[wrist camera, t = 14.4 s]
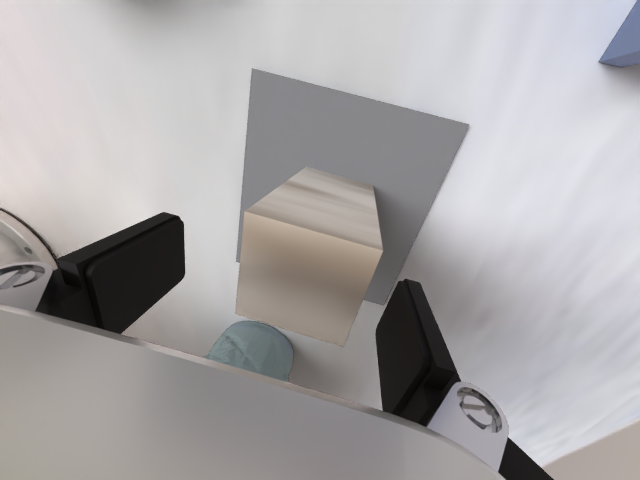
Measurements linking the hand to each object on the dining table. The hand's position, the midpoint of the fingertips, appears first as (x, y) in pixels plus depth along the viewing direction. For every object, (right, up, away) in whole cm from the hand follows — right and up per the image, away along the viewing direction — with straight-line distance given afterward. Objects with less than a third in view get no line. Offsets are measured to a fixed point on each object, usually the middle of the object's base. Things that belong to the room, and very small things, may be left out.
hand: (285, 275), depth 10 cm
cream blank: (+2, +4, +8) cm, 9 cm away
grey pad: (+2, +4, +9) cm, 10 cm away
